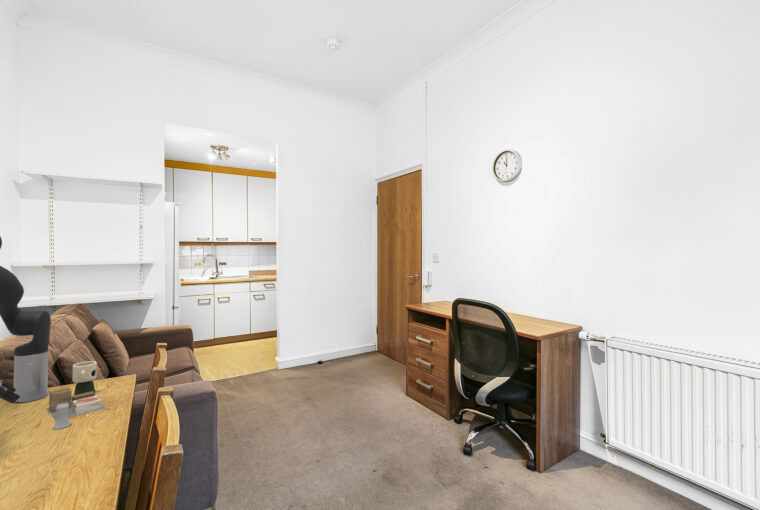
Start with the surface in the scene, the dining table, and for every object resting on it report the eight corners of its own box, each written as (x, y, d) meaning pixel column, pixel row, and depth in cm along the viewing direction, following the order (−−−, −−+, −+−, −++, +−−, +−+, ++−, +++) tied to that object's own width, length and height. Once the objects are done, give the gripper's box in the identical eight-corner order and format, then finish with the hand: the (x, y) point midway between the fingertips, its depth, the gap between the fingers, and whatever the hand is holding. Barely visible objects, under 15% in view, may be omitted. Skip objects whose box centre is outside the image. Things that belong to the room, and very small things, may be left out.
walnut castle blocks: (49, 408, 122) (49, 391, 122) (92, 397, 131) (92, 381, 131) (51, 412, 119) (52, 394, 119) (96, 401, 128) (96, 384, 128)
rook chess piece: (59, 434, 106) (60, 407, 106) (48, 433, 107) (48, 406, 107) (75, 427, 110) (75, 402, 111) (64, 426, 111) (64, 401, 111)
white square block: (72, 409, 121) (72, 400, 121) (95, 403, 126) (95, 394, 126) (76, 414, 117) (77, 405, 117) (100, 408, 122) (100, 399, 122)
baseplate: (46, 411, 122) (46, 408, 122) (93, 400, 132) (93, 396, 132) (55, 425, 112) (56, 421, 112) (106, 411, 122) (106, 407, 122)
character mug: (94, 400, 132) (95, 365, 132) (69, 404, 128) (70, 368, 128) (97, 391, 141) (98, 358, 141) (74, 394, 137) (75, 361, 138)
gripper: (-31, 357, 90) (31, 390, 98) (-33, 349, 99) (24, 379, 107) (-65, 384, 86) (3, 415, 94) (-64, 372, 94) (-2, 402, 103)
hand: (14, 396), depth 101 cm, fingers open, 8 cm apart
